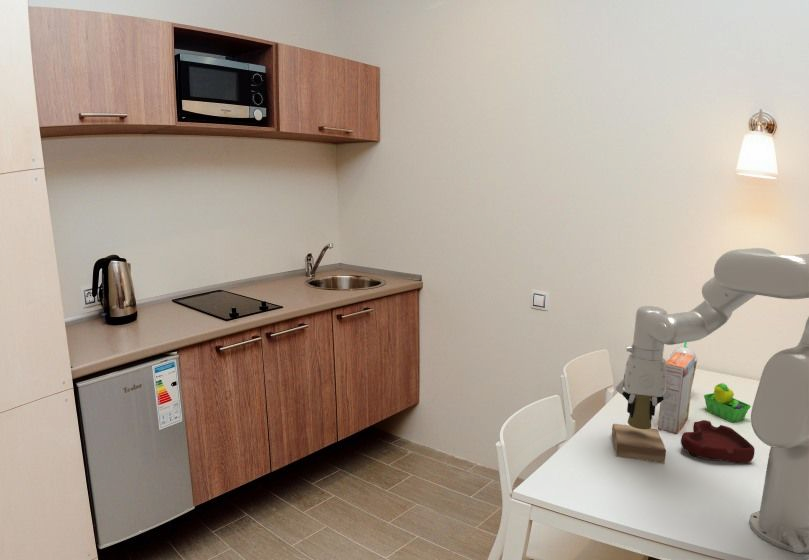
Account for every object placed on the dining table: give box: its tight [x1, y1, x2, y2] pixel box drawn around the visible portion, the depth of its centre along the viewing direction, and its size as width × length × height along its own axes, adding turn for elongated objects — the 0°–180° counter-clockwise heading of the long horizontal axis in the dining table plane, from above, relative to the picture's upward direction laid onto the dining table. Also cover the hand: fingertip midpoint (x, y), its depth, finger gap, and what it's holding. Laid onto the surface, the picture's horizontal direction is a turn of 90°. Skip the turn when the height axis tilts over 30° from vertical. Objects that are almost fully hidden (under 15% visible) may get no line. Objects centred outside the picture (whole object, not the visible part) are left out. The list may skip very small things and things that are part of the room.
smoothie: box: [669, 342, 699, 390], centre depth 185 cm, size 8×8×20 cm
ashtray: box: [680, 419, 755, 464], centre depth 148 cm, size 18×16×5 cm
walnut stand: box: [611, 423, 667, 464], centre depth 149 cm, size 12×12×4 cm
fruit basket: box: [703, 382, 752, 423], centre depth 171 cm, size 11×9×11 cm
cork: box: [627, 395, 652, 429], centre depth 147 cm, size 6×6×11 cm
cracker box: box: [657, 352, 695, 435], centre depth 163 cm, size 14×6×21 cm, turn 141°
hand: (640, 415), depth 148 cm, fingers closed on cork, 4 cm apart
